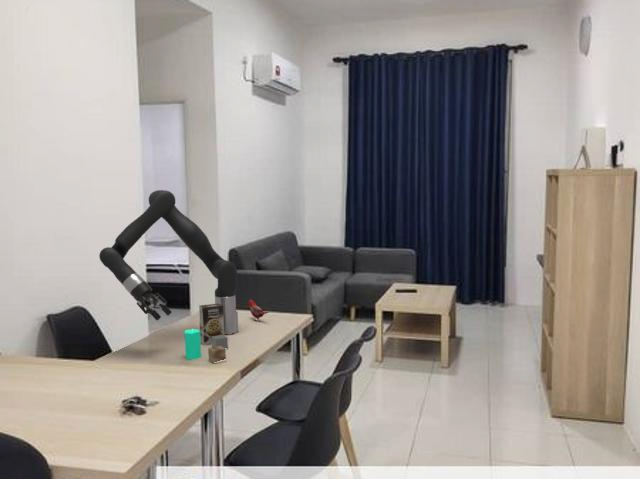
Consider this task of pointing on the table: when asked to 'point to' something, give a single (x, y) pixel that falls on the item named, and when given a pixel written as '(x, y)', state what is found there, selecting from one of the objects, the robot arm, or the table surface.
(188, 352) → the candle
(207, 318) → the coffee box
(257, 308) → the decorative bird figurine
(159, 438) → the table surface
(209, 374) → the table surface
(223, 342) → the gray cube
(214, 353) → the walnut block
